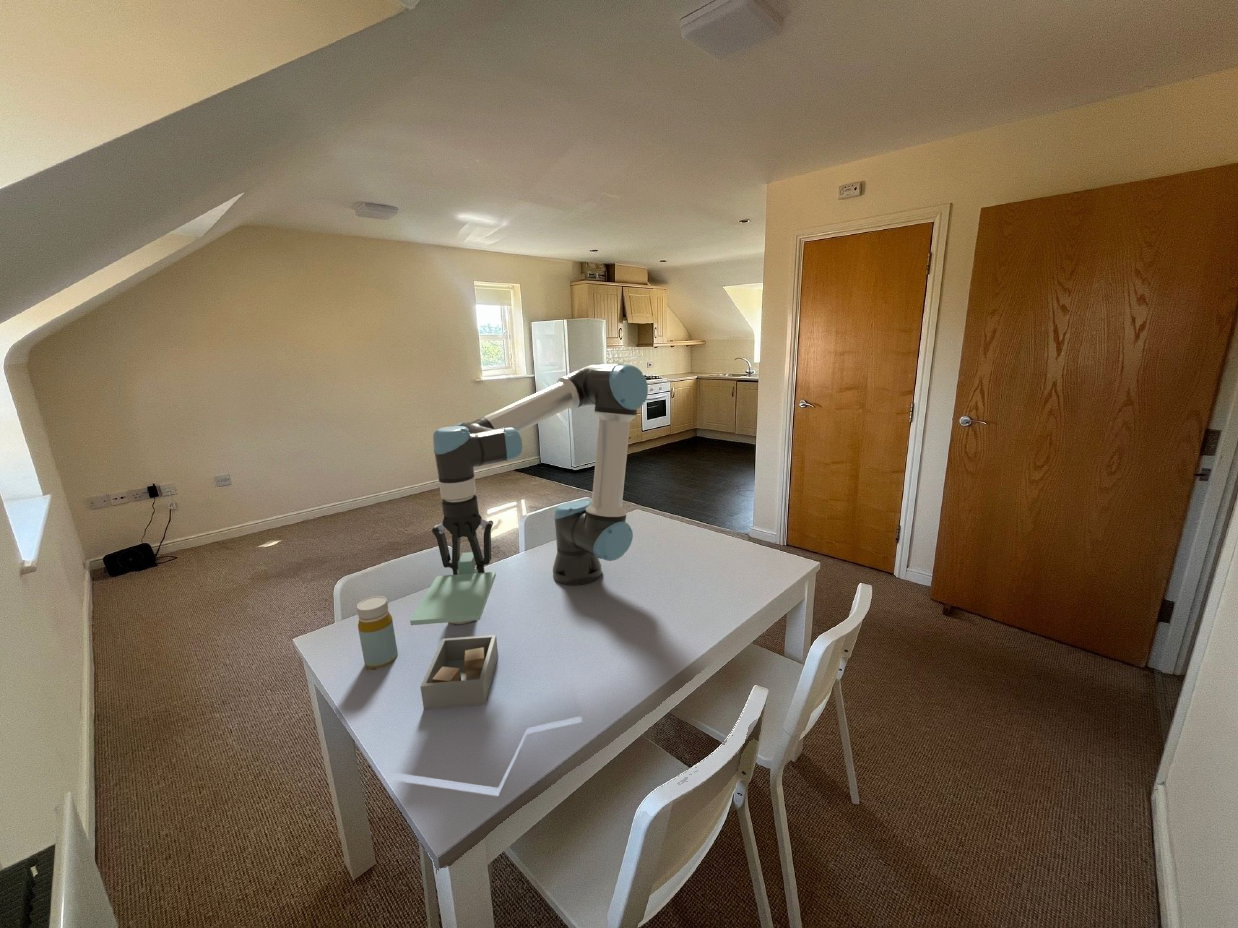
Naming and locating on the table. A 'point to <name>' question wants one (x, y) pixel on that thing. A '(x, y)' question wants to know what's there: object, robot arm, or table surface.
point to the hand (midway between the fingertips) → (471, 591)
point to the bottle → (376, 632)
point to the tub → (467, 688)
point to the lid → (456, 595)
